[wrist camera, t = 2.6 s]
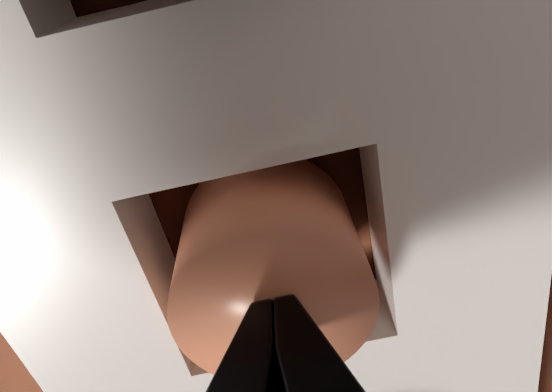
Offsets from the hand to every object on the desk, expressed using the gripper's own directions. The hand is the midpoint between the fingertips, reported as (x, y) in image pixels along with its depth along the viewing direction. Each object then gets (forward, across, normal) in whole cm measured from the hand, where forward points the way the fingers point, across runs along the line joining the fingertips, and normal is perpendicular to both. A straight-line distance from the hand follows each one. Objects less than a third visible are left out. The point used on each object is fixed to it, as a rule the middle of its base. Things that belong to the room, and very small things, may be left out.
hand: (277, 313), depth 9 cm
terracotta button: (+3, 0, 0) cm, 3 cm away
